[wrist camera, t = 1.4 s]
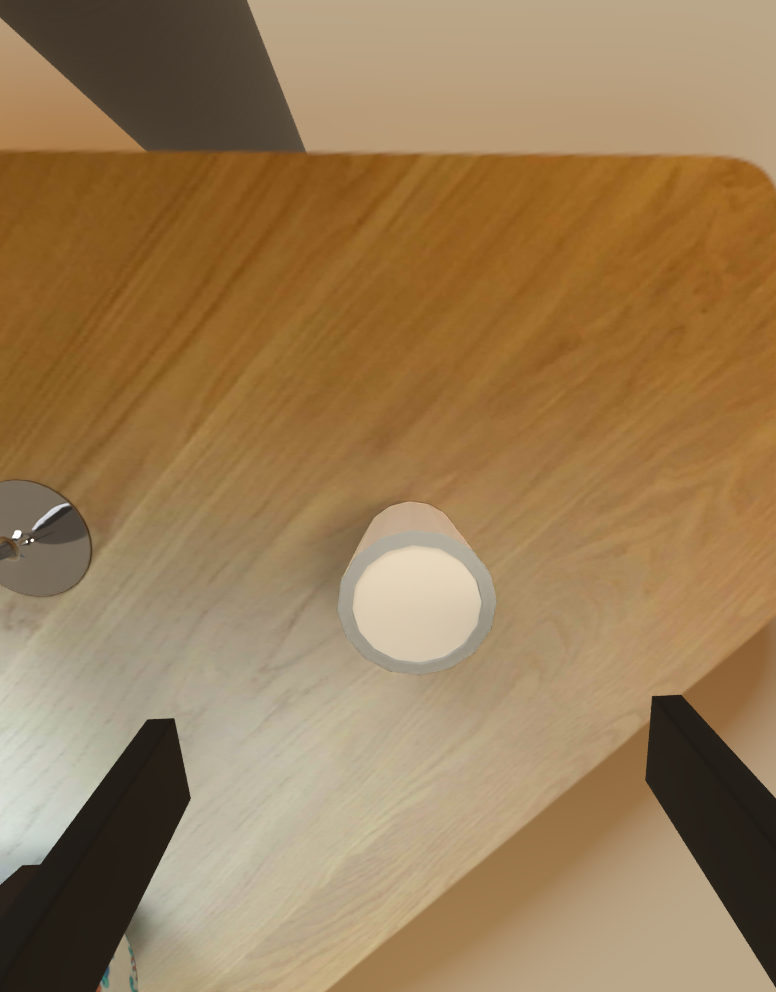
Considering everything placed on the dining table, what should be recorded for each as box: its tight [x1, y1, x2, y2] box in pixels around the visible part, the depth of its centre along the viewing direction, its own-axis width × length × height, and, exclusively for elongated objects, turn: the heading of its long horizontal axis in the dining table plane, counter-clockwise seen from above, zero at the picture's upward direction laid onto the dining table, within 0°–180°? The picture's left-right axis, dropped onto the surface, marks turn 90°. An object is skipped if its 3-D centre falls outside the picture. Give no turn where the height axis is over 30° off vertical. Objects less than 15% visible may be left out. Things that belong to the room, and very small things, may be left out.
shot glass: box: [337, 501, 497, 675], centre depth 23 cm, size 7×7×7 cm
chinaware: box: [96, 933, 138, 992], centre depth 30 cm, size 15×15×8 cm
